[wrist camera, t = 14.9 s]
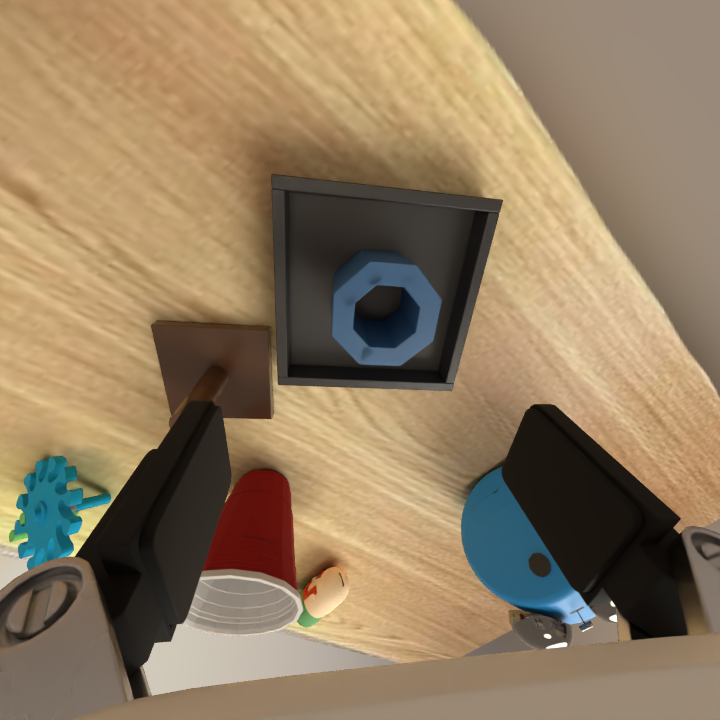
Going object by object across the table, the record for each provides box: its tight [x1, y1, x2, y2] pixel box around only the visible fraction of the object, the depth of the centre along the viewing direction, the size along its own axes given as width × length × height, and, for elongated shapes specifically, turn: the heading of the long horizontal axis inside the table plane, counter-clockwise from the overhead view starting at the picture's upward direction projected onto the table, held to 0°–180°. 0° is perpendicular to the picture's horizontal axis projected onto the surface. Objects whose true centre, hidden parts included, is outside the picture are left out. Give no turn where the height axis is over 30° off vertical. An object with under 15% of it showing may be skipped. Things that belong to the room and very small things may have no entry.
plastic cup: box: [182, 469, 303, 636], centre depth 29 cm, size 11×11×12 cm
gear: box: [9, 456, 111, 570], centre depth 30 cm, size 11×6×10 cm
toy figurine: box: [297, 567, 349, 627], centre depth 42 cm, size 8×4×12 cm
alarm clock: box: [461, 466, 617, 650], centre depth 31 cm, size 13×6×15 cm, turn 136°
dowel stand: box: [151, 321, 274, 428], centre depth 24 cm, size 9×9×8 cm
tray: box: [271, 174, 503, 391], centre depth 24 cm, size 15×15×3 cm
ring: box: [331, 249, 442, 366], centre depth 22 cm, size 7×7×6 cm
